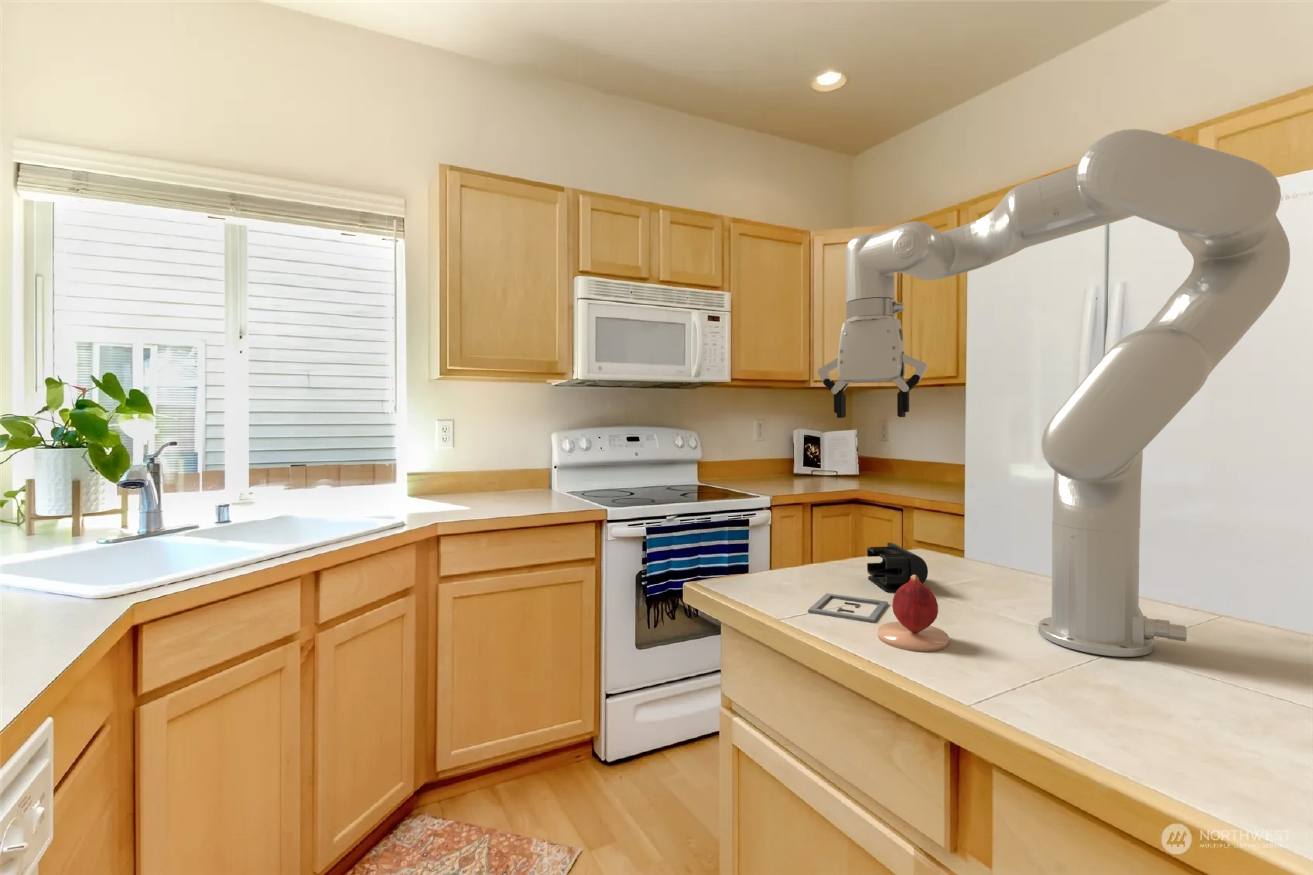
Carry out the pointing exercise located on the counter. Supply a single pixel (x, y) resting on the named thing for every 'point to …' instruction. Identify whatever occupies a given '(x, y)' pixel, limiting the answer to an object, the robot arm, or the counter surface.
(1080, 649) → the robot arm
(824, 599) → the frame
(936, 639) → the disc
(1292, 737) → the counter surface
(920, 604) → the onion
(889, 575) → the end cap
